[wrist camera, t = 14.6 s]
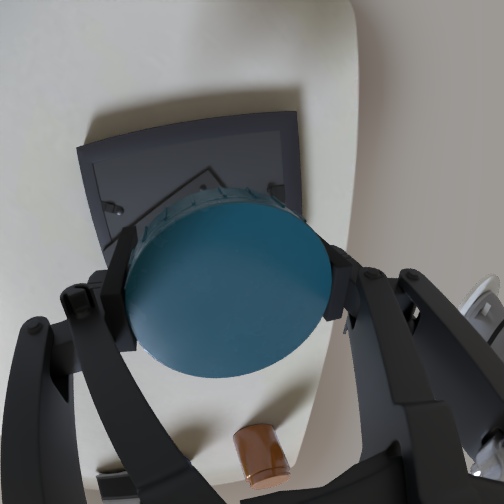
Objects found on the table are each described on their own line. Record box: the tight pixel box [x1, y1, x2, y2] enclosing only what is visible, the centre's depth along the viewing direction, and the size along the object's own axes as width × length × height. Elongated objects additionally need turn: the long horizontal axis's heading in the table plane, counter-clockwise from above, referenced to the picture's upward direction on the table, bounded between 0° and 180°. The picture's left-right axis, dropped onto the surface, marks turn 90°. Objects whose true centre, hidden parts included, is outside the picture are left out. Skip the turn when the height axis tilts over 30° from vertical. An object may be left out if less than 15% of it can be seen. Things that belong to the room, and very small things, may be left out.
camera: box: [96, 471, 142, 504], centre depth 41 cm, size 16×9×10 cm, turn 110°
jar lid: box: [124, 186, 332, 378], centre depth 12 cm, size 8×8×2 cm
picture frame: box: [76, 111, 302, 268], centre depth 23 cm, size 13×2×18 cm
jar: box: [233, 424, 290, 489], centre depth 40 cm, size 8×8×11 cm
